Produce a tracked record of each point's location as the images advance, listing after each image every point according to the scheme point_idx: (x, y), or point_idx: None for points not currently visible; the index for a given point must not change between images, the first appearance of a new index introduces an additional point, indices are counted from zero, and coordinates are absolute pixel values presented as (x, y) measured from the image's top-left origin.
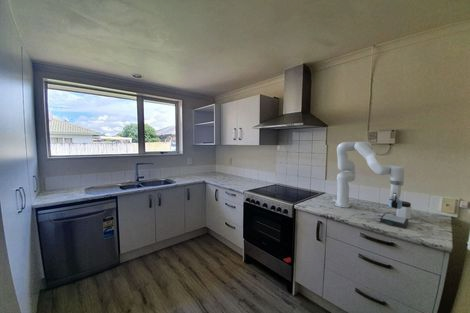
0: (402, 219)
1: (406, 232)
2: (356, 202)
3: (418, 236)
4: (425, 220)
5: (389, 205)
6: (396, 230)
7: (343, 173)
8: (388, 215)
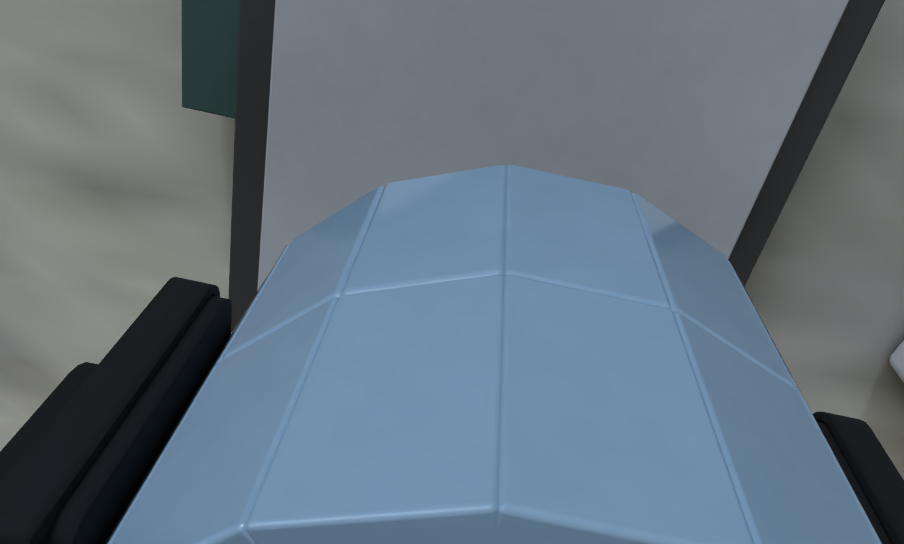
0: None
1: (72, 269)
2: None
3: (49, 387)
4: None
5: (345, 221)
6: (19, 126)
7: None
8: (655, 45)
